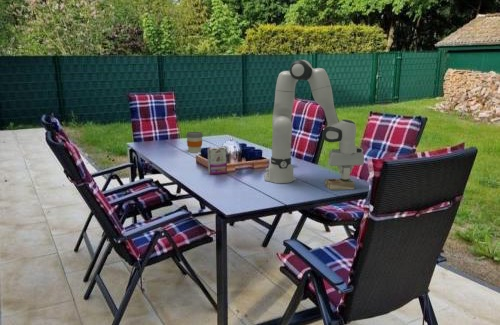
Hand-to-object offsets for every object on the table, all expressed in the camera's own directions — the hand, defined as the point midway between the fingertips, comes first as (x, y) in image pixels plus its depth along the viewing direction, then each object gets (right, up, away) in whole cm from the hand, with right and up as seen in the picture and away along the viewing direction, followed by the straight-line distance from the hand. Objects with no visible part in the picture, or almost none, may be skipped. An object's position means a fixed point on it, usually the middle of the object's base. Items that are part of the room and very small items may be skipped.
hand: (345, 173), depth 246 cm
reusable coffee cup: (-97, +14, +94) cm, 136 cm away
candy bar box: (-75, -1, +29) cm, 80 cm away
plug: (0, -3, +1) cm, 3 cm away
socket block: (-3, -8, 0) cm, 9 cm away
